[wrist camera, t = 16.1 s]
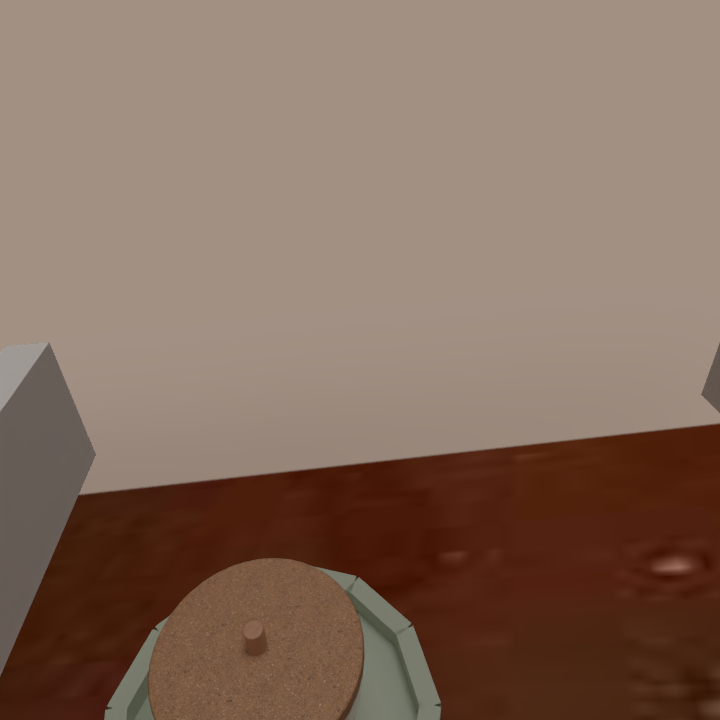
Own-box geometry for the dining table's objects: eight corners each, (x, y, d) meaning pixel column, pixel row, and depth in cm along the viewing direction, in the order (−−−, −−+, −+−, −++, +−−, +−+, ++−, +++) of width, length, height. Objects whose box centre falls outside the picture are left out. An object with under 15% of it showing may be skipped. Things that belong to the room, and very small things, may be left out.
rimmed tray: (454, 619, 38) (456, 598, 37) (397, 1020, 24) (397, 1009, 22) (210, 563, 43) (204, 542, 41) (36, 872, 28) (17, 856, 27)
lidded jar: (139, 762, 31) (87, 675, 26) (258, 603, 39) (237, 511, 33) (300, 886, 27) (277, 813, 21) (399, 680, 34) (400, 587, 29)
